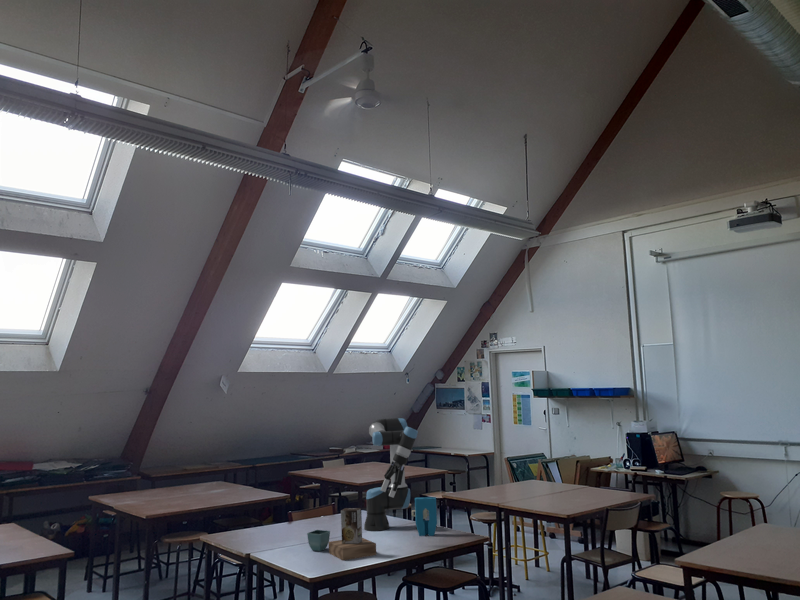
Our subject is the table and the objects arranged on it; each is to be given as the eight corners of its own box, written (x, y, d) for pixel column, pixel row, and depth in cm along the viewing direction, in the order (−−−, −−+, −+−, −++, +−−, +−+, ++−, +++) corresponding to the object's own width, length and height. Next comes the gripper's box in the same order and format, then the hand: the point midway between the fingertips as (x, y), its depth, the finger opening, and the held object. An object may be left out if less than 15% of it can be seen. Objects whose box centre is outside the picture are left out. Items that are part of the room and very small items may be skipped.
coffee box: (362, 541, 299) (361, 507, 302) (358, 544, 293) (357, 510, 296) (346, 540, 301) (345, 507, 304) (341, 543, 295) (340, 509, 298)
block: (437, 533, 335) (435, 497, 339) (437, 535, 330) (435, 498, 334) (416, 534, 336) (415, 497, 340) (416, 536, 331) (414, 499, 335)
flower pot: (320, 552, 301) (320, 534, 302) (306, 551, 305) (306, 532, 307) (330, 548, 308) (330, 530, 310) (317, 547, 313) (317, 529, 314)
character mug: (431, 528, 350) (430, 505, 352) (430, 531, 343) (429, 507, 345) (412, 529, 351) (412, 506, 353) (412, 531, 344) (411, 508, 346)
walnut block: (328, 554, 299) (328, 541, 300) (361, 549, 308) (360, 537, 309) (342, 561, 284) (342, 548, 285) (376, 556, 292) (376, 543, 293)
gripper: (416, 461, 307) (401, 501, 302) (399, 454, 330) (385, 491, 326) (403, 456, 305) (388, 496, 300) (388, 449, 328) (373, 486, 323)
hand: (386, 494), depth 313 cm, fingers open, 13 cm apart
